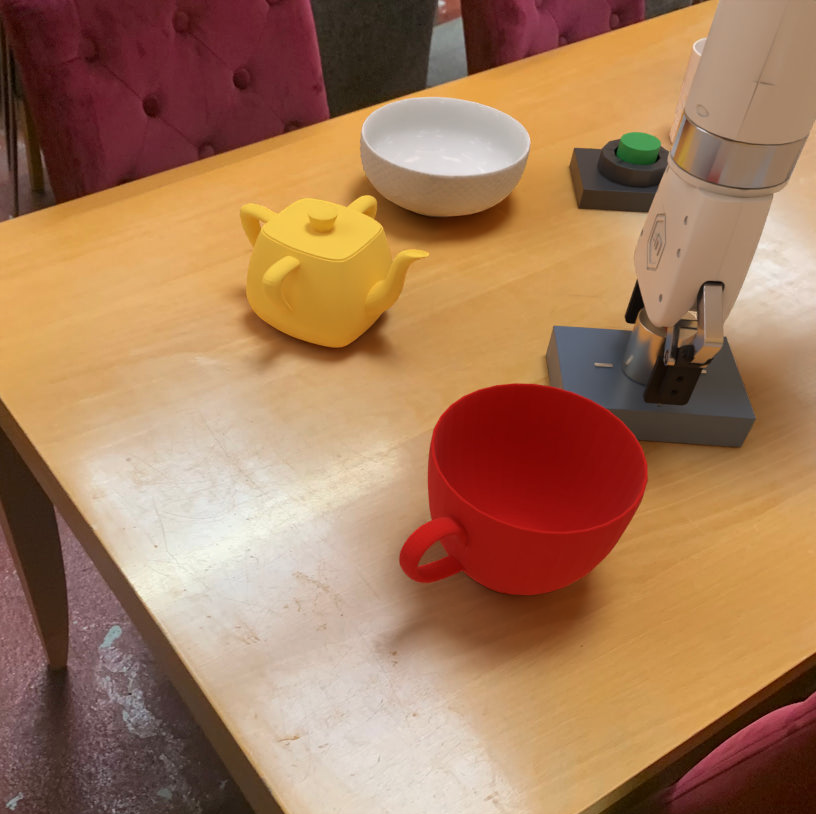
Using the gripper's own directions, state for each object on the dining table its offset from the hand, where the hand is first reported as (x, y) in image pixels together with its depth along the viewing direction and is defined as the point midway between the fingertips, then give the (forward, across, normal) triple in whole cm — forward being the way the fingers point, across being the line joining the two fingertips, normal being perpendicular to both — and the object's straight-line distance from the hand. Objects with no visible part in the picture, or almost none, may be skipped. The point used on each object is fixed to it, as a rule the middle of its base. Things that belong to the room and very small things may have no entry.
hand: (653, 360), depth 69 cm
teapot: (+4, -8, -26) cm, 28 cm away
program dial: (+1, 0, 0) cm, 1 cm away
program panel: (+4, 0, 0) cm, 4 cm away
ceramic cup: (+4, +19, -13) cm, 23 cm away
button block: (+4, -34, +4) cm, 34 cm away
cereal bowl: (+4, -30, -16) cm, 34 cm away
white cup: (+4, -46, +14) cm, 48 cm away
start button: (0, -34, +4) cm, 34 cm away
